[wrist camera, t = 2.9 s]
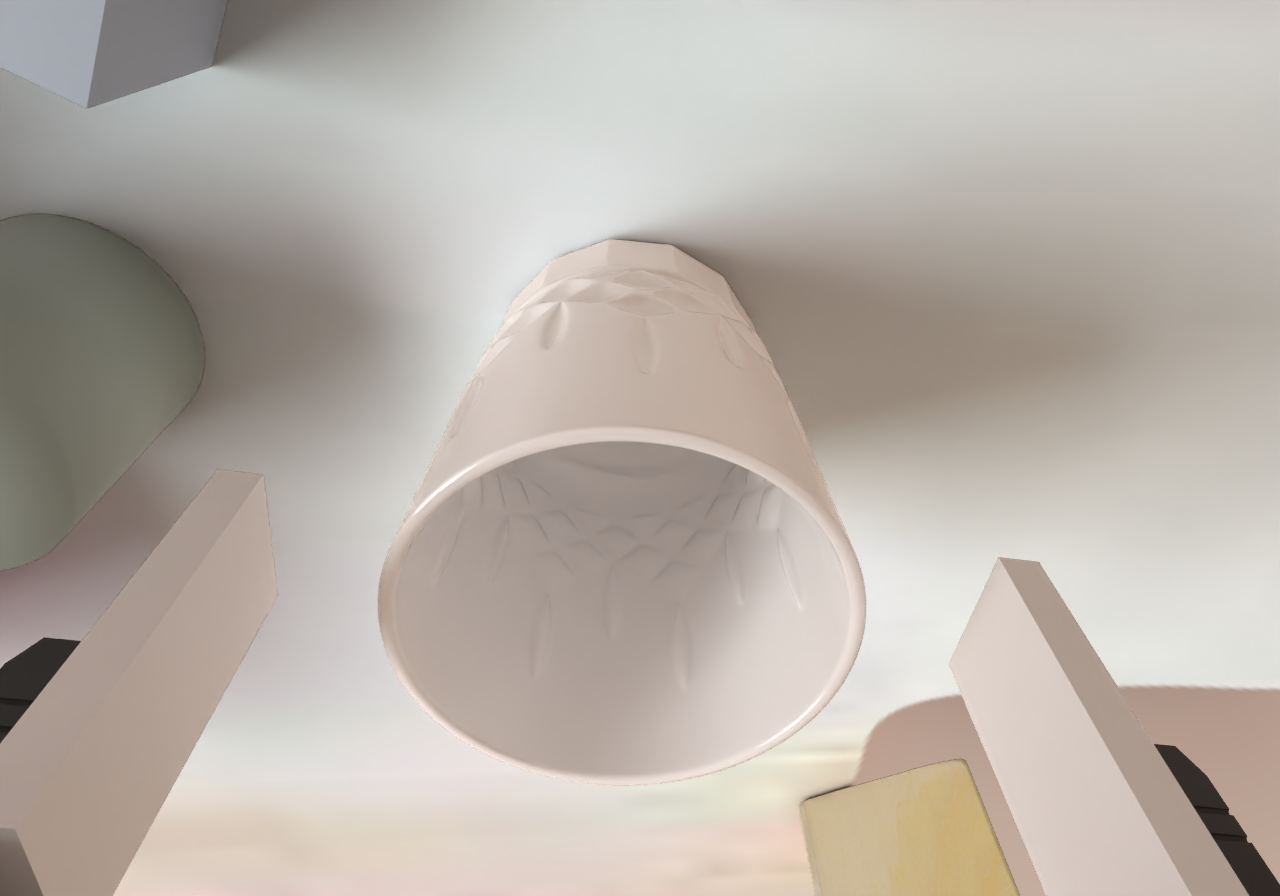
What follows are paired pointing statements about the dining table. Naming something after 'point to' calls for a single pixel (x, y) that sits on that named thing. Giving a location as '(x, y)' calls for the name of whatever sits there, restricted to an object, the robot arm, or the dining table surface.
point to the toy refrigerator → (905, 837)
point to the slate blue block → (107, 44)
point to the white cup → (623, 537)
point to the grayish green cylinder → (81, 372)
